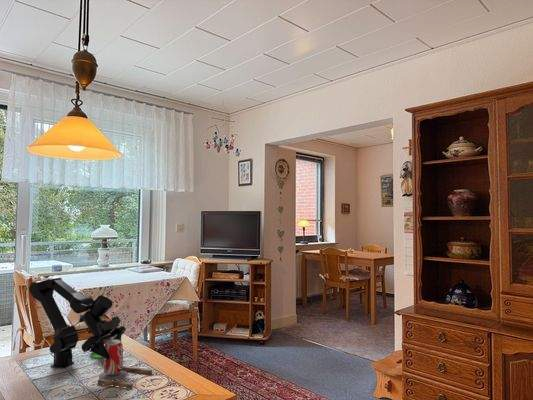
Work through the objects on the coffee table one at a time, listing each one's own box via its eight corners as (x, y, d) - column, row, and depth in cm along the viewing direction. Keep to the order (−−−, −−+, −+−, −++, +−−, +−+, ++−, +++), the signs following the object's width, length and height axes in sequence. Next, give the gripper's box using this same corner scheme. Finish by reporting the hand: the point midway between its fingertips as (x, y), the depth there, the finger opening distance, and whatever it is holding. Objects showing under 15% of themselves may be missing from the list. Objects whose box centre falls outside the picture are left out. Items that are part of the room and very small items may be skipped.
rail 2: (119, 370, 154) (119, 366, 154) (121, 369, 155) (121, 365, 155) (150, 374, 150) (150, 370, 150) (152, 373, 151) (152, 369, 152)
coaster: (93, 379, 145) (93, 378, 145) (110, 369, 155) (110, 368, 155) (115, 382, 143) (116, 381, 143) (131, 372, 152) (131, 371, 152)
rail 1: (97, 384, 141) (97, 380, 141) (99, 382, 142) (100, 378, 142) (130, 388, 138) (130, 384, 138) (132, 387, 139) (132, 383, 139)
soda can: (116, 377, 145) (116, 345, 145) (99, 375, 147) (99, 344, 147) (126, 369, 152) (126, 339, 152) (110, 367, 153) (110, 337, 153)
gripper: (88, 316, 143) (110, 350, 138) (123, 306, 160) (143, 336, 156) (71, 335, 145) (93, 369, 141) (107, 322, 162) (127, 352, 158)
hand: (116, 355), depth 149 cm, fingers closed on soda can, 7 cm apart
